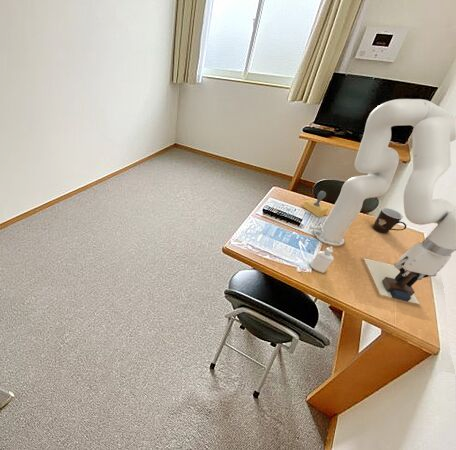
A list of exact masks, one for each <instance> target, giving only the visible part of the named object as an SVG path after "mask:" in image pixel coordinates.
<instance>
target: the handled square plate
mask: <svg viewBox="0 0 456 450" xmlns="http://www.w3.org/2000/svg"><path fill="white" fill-rule="evenodd" d="M416 275H417V273H416V272H412V271H411V272H410V273H409V274H408V275H407V276H406V277H407V278H406V279H405V280H404V281H403V282H402V283H401V284H400V285H399V284H397V282H396V280H395V279H393V278H389V277H385V278H384V279H383V280H382V283H383V285H384V287H385V289H386V291H388V292H391V291H392V290H398V291H402V292H406V293H409V295H410V297H411V296H412V295H413V294H414V295H415V290H414V288H413V287H412V286H413V285H412V286H411V287H408V286H407V283H408V282H409V281H411V280H412V279H413V278H414V277H415V276H416Z"/></svg>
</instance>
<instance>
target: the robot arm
mask: <svg viewBox="0 0 456 450" xmlns="http://www.w3.org/2000/svg"><path fill="white" fill-rule="evenodd" d="M364 126H365V127H364V132H363V135H362V138H361V140H360V144H359V147H358V150H357V154H356V157H355V159H354V169H355V170H356V171H357V172H359V173H362V174H363V175H355V176H352V177H350V178H347V180H346V181H345V182H344V183H343V184H342V186H341V190H340V193H339V195H338V197H337V199H336V201H335V203H334V204H333V205H332V208H331V209H330V211H329V213H328V214H327V217H326V218H325V220H324V221H323V223H319V225H314V224H309V226H308V229H309V230H312V232H313V233H314V236H315V237H316V239H317V240H319V241H320V242H321V243H323V244H326V245H331V246H341V245H344V244H345V238H344V237H345V235H346V233H347V232H348V231H349V229H350V227H352V225H353V223H354V221H355V220H356V218H357V217H358V215H359V214H360V212H361V211H362V208H363V204H364V201H365V200H367V199H373V198H377V197H378V198H379V197H381V196H383V195H385V194H386V193H387V192H388V190H389V189H390V187H391V184H392V182H393V180H394V177H395V175H396V171H397V169H398V166H399V164H400V163H399V162H400V155H399V153H398V151H397V150H396V149H395V148H393V147H389V144H390V142H391V140H392V128H393V127H397V126H411V127H413V129H412V134H411V140H412V141H411V143H412V163H413V164H412V172H411V174H410V175H409V177H408V180H407V182H406V185H405V187H404V191H403V210H404V215H405V217H406V219H407V220H408V221H409V223H412V224H413V225H417V226H419V225H420V226H423V225H430V224H437V225H436V226H435V228H434V229H433V230H432V231H431V232H430V233H429V234H428V235H427V236H426V237H425V238H424V239H423V240H422V242H419V241H418V242H417V243H416V244H414V245H413V246H411V247H410V248H409V249H407V251H405V252H404V253H403V254H402V255H401V256H400V257H399V259H398V261H397V262H395V263H394V264H393V265H394V266H395V267H396V268H397V269H398V270H399V271H400V273H399V274H398V275H397V276H396V277H395V280H396V282H397V284H399V285H400V284H401V283H402V282H403V281H404V280H405V279H406V278H407V277H406V276H407V275H408V274H409V273H410V272H411V271H412V272H416V273H417V275H416V276H415V277H414V278H413V279H412V280H411V281H409V282H408V283H407V286H408V287H411V286H413V285H414V284H415V283H416V282H417V281H421V280H422V279H424V278H428V277H429V278H430V277H436V276H437V274H438V273H439V272H440V271H441V270H442V269H443V268H444V267H445V266H446V264H447V263H448V262H449V261H450V259H451V257H452V254H453V253H454V252H456V205H455V204H453V203H452V202H450V201H448V200H446V199H443V198H433V193H434V188H435V186H436V184H437V182H438V180H439V179H440V178H441V177H442V176H443V175H444V174H445V173H446V172H447V171H448V170H449V169H450V167H451V165H452V164H451V143H452V142H454V141H455V140H456V115H454V114H453V113H451V112H449V111H448V110H446V109H444V108H443V107H440V106H439V105H438V104H435V102H432V101H430V100H428V99H422V98H397V99H392V100H388V101H385V102H383V103H380V105H377V107H375V108H374V109H373V110H372V111H371V112H370V113H369V115H368V117H367V119H366V122H365V125H364Z"/></svg>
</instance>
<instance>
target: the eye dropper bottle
mask: <svg viewBox="0 0 456 450" xmlns="http://www.w3.org/2000/svg"><path fill="white" fill-rule="evenodd" d="M333 248H334V247H333V245H331V246H329V247H326V248H325V250H319V251H318V252H317V254H316V255H315V257H314V258H313V260H312V261H311V263H310V267H311V269H313V270H314V271H316V272H319V273H322V274H324V273H326V271H327V270H328V269H329V267H330V266H331V265H332V263H333V262H334V256H333V253H334V249H333Z"/></svg>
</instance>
